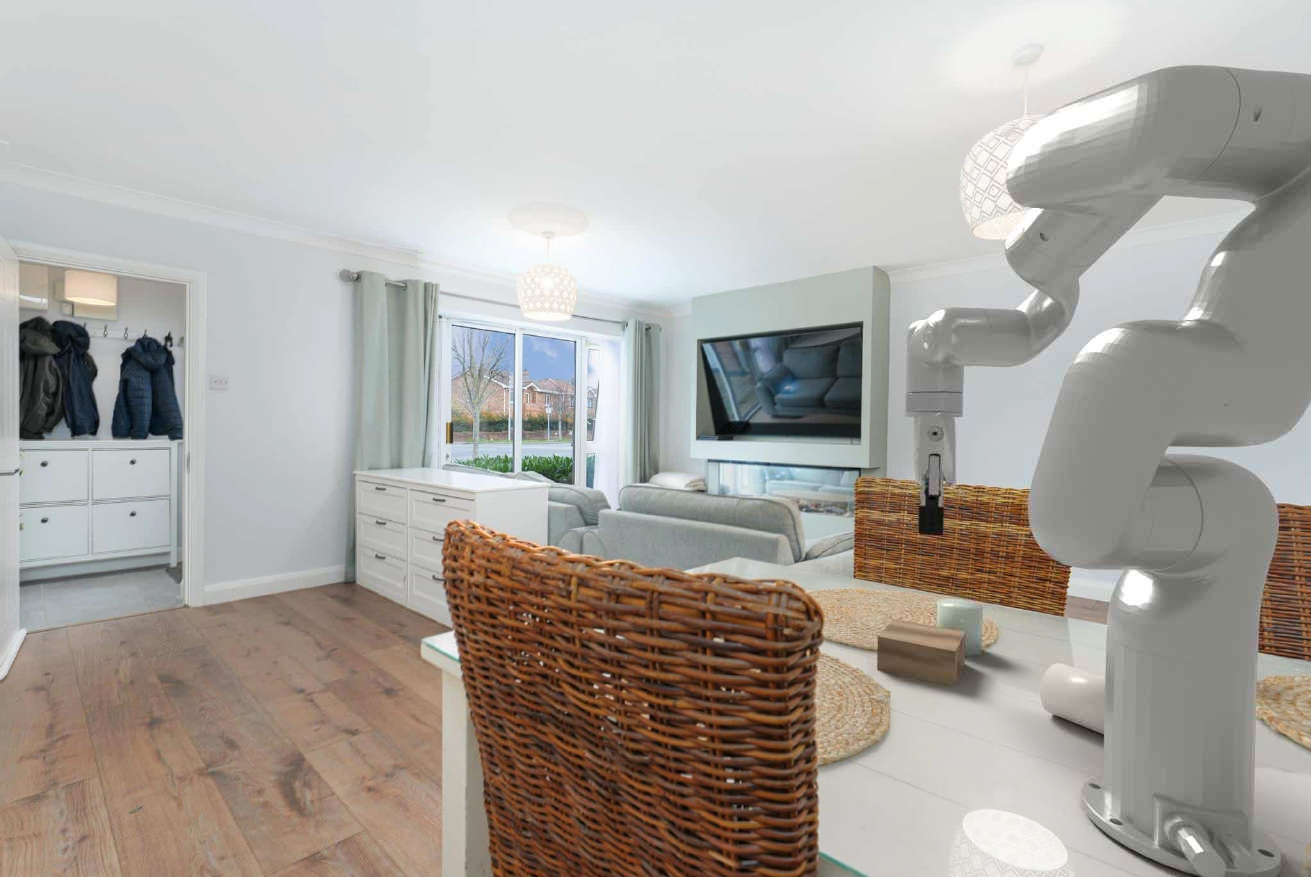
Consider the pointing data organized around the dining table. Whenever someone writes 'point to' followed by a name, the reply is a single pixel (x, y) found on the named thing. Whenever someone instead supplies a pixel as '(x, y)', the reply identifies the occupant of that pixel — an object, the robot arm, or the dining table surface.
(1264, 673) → the dining table surface
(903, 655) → the tan box
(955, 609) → the pale green rounded cylinder
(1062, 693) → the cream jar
